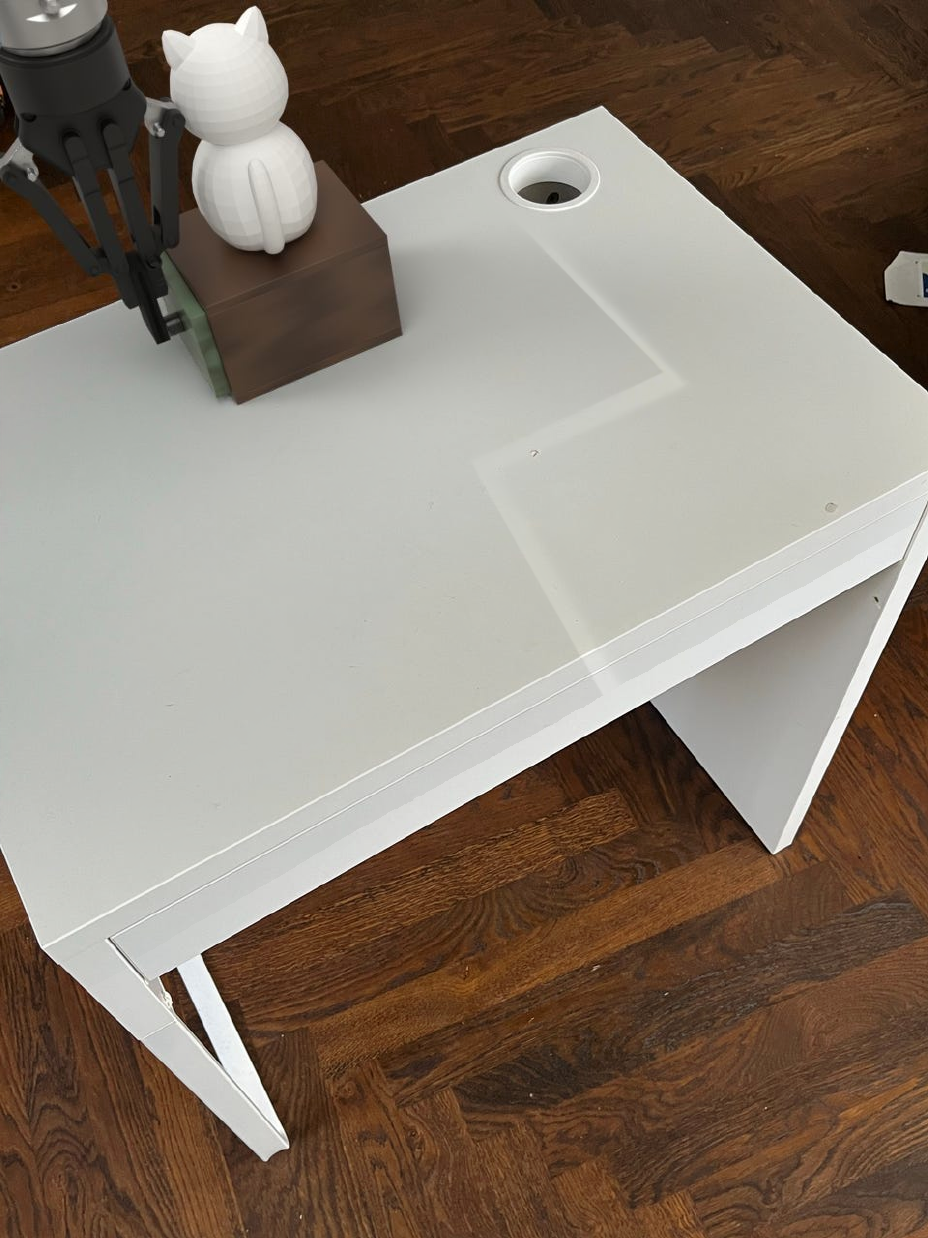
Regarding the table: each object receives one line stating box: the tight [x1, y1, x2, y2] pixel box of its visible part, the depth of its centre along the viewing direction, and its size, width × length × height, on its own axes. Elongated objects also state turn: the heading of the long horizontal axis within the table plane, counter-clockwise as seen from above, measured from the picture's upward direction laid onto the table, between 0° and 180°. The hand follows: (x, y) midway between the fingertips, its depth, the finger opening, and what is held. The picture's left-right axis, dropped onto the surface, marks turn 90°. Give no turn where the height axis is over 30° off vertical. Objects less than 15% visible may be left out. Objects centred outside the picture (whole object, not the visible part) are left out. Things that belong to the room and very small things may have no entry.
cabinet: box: [165, 159, 403, 406], centre depth 91 cm, size 15×12×10 cm
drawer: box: [160, 251, 231, 399], centre depth 90 cm, size 15×10×8 cm
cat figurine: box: [161, 5, 317, 254], centre depth 81 cm, size 9×12×15 cm
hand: (158, 331), depth 89 cm, fingers closed
